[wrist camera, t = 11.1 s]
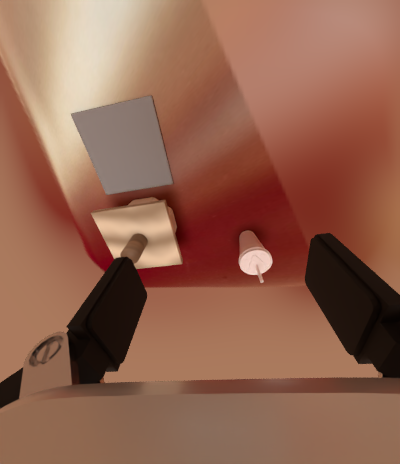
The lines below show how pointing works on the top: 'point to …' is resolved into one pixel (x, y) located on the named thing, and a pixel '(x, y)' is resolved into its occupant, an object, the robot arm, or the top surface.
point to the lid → (140, 233)
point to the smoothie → (253, 255)
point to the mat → (125, 145)
